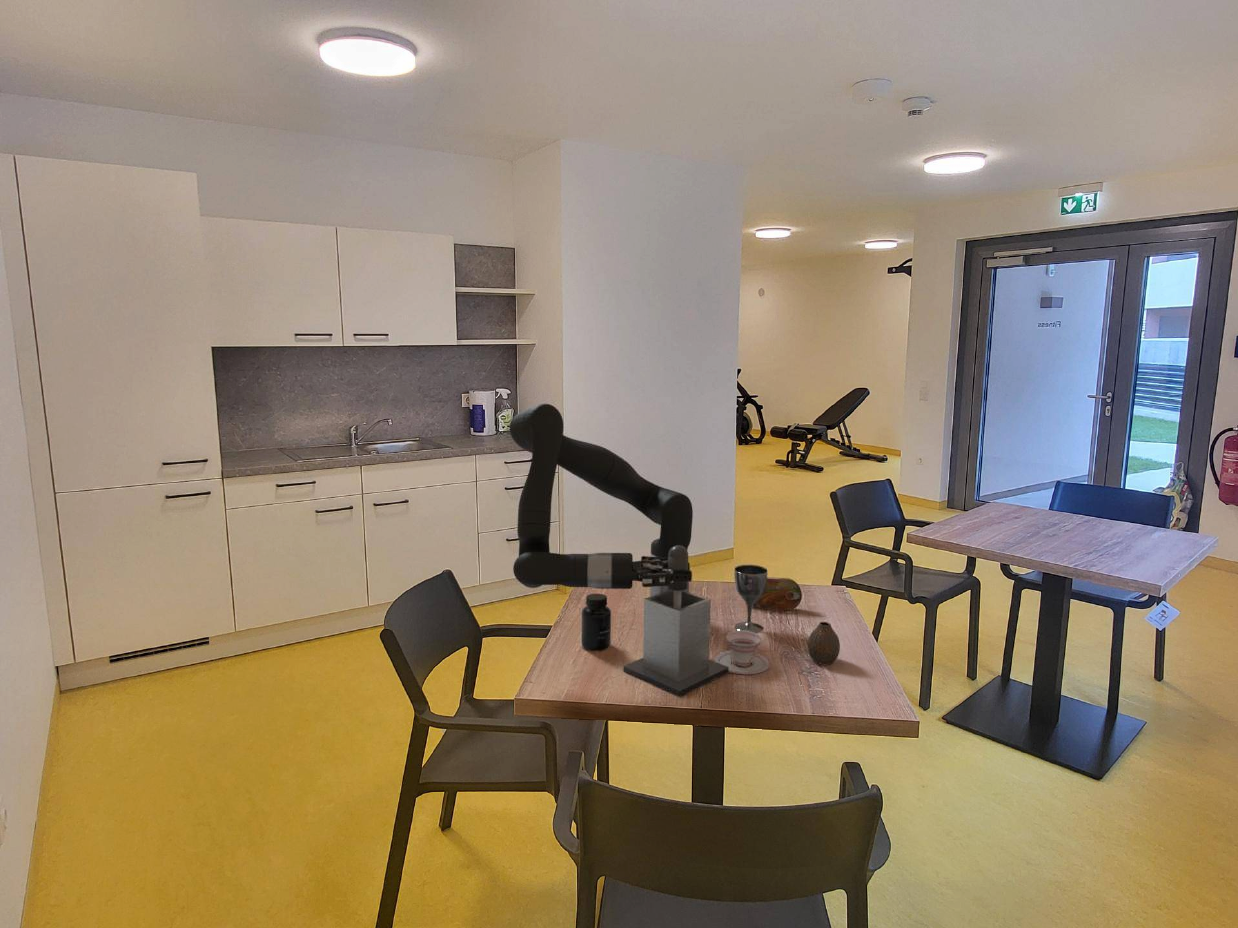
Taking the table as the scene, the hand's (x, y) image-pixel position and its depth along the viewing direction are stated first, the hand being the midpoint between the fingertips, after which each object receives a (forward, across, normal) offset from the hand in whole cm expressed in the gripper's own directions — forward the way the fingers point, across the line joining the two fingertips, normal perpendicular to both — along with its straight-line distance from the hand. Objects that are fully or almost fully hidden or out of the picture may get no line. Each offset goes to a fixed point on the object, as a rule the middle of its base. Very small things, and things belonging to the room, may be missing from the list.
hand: (690, 571), depth 158 cm
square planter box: (-3, 0, +22) cm, 23 cm away
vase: (+31, +6, +23) cm, 39 cm away
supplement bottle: (-20, +13, +23) cm, 33 cm away
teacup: (+12, +5, +23) cm, 26 cm away
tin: (+26, +40, +23) cm, 52 cm away
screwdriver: (-3, 0, +19) cm, 19 cm away
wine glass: (+17, +26, +23) cm, 38 cm away
